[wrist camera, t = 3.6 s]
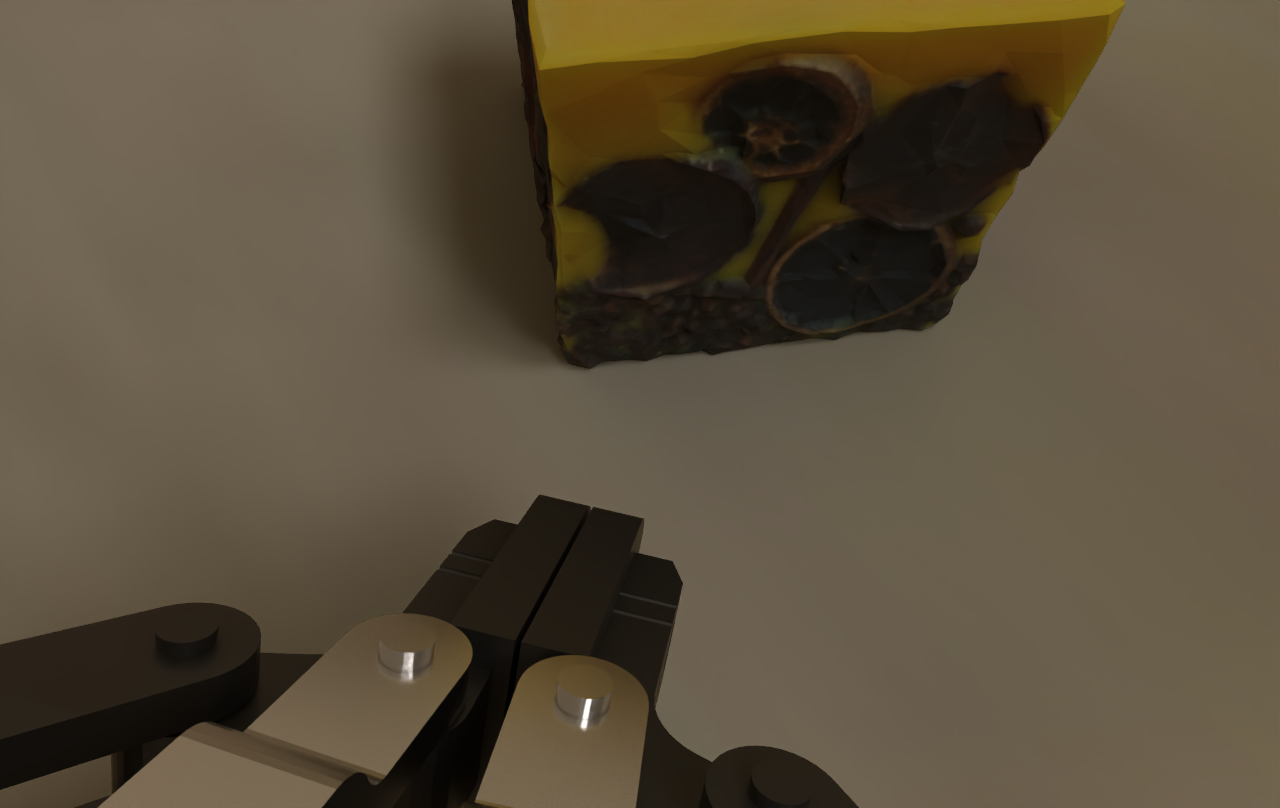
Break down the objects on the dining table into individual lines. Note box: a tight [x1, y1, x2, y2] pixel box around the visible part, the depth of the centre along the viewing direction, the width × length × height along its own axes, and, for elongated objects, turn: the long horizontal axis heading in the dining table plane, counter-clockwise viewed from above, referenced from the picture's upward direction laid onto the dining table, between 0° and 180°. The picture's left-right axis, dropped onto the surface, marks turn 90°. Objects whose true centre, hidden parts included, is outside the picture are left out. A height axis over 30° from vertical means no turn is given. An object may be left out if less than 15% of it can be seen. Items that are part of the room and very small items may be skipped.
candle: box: [512, 0, 1126, 368], centre depth 21 cm, size 10×10×10 cm
